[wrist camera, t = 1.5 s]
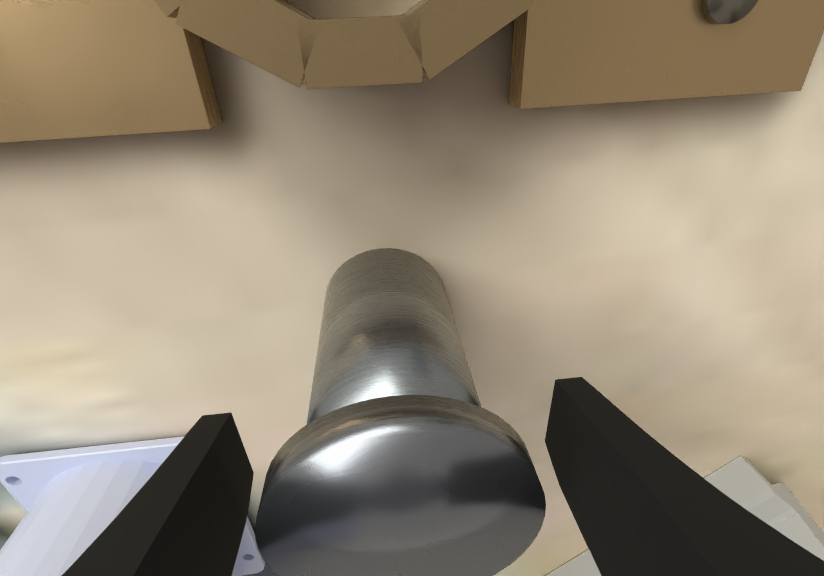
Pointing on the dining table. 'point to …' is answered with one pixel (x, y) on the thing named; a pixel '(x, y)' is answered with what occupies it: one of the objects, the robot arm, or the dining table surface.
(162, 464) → the robot arm
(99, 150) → the dining table surface
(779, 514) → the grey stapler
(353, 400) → the pin
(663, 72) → the hinge leaves
